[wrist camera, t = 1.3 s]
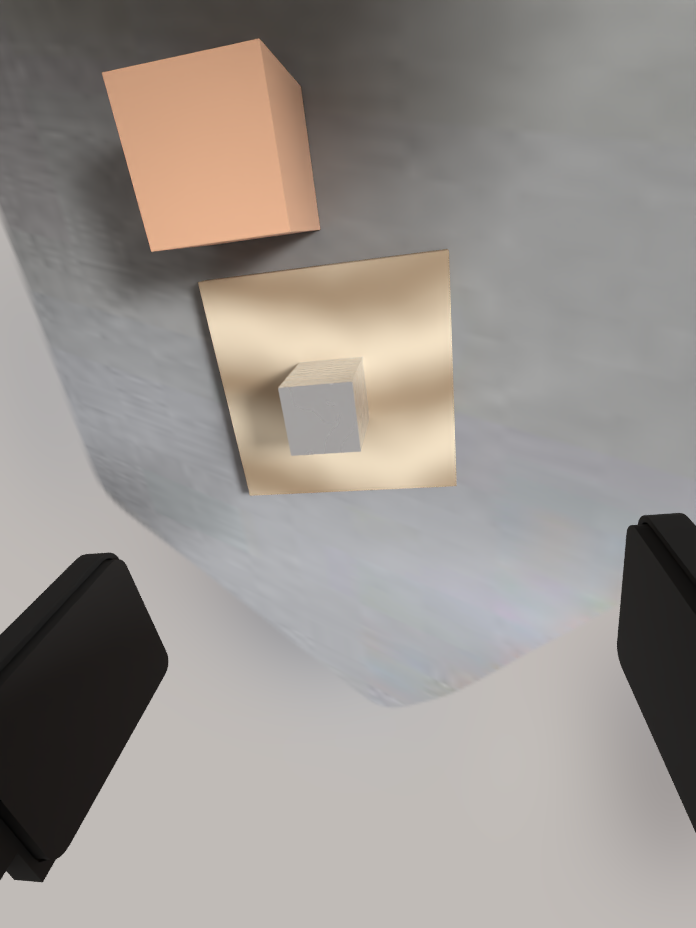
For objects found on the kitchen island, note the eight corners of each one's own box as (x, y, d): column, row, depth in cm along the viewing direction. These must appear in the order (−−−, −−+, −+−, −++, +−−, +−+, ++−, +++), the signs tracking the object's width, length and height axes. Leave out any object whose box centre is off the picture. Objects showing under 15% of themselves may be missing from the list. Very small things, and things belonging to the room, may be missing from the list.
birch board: (206, 280, 29) (197, 282, 27) (447, 249, 26) (448, 250, 25) (255, 487, 35) (250, 495, 33) (455, 477, 32) (456, 486, 31)
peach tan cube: (181, 110, 25) (101, 72, 19) (300, 86, 24) (259, 38, 18) (211, 245, 28) (151, 251, 21) (320, 229, 27) (290, 231, 20)
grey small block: (299, 362, 29) (278, 387, 24) (362, 356, 28) (352, 381, 24) (309, 421, 30) (291, 455, 26) (369, 417, 30) (361, 451, 25)
